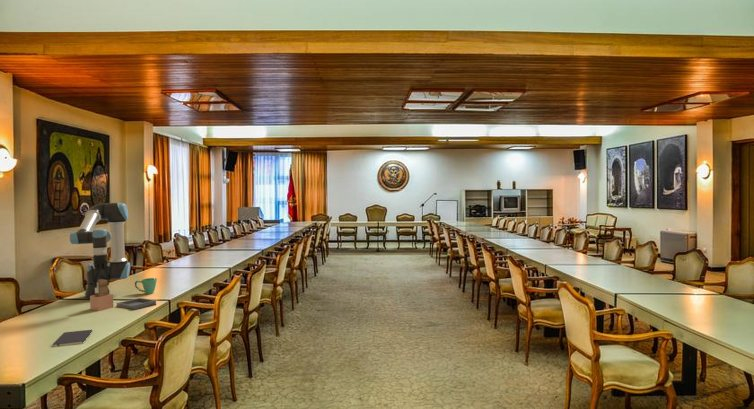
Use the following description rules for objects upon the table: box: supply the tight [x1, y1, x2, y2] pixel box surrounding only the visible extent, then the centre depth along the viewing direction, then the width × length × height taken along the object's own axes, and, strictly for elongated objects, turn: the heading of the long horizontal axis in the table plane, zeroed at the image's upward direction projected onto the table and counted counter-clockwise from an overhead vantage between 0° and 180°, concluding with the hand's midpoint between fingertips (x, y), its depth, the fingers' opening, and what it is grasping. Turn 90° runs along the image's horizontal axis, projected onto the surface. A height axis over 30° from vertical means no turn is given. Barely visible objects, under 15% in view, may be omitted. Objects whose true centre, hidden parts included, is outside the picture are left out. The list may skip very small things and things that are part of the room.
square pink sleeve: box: [89, 293, 114, 311], centre depth 300 cm, size 9×9×9 cm
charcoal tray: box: [116, 297, 157, 312], centre depth 307 cm, size 16×16×3 cm
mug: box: [134, 277, 158, 295], centre depth 346 cm, size 15×10×10 cm
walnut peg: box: [95, 279, 109, 297], centre depth 300 cm, size 5×5×17 cm
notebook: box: [52, 329, 93, 347], centre depth 242 cm, size 13×2×21 cm
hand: (101, 291), depth 300 cm, fingers closed on walnut peg, 5 cm apart
